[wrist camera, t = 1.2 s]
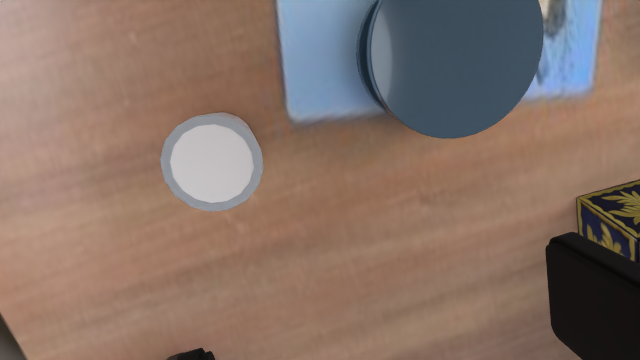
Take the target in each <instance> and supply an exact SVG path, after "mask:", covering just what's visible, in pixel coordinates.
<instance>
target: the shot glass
mask: <svg viewBox="0 0 640 360" xmlns="http://www.w3.org/2000/svg"><path fill="white" fill-rule="evenodd" d="M160 162H161V167H162V172H163V177H164V180H165V182H166V183H167V185H168V186H169V188H170V189H171V191H172V192H173V194H174V195H175V196H176V197H178V198H179V199H180V200H182V201H183V202H185V203H186V204H188V205H189V206H191V207H194V208H198V209H202V210H206V211H210V212H212V211H220V210H228V209H231V208H233V207H235V206H237V205H239V204H241V203H243V202H245V201H246V200H247V199H248V198H249V197H250V196H251V194H252V193H253V192H254V191H255V190H256V188H257V187H258V185H259V182H260V179H261V175H262V172H263V161H262V153H261V149H260V147H259V145H258V143H257V140H256V138H255V136H254V135H253V133H252V131H251V129H250V128H249V126H248V124H247V123H245V122H244V121H243V120H242V119H240V118H239V117H238V116H235V115H232V114H229V113H225V112H220V113H210V114H205V115H199V116H194V117H192V118H191V119H189V120H187V121H185V122H183V123H181V124H179V125H177V126H176V127H175V129H174V130H173V131H172V133H171V134H170V135H169V136H168V138H167V139H166V140H165V142H164V146H163V150H162V155H161V159H160Z"/></svg>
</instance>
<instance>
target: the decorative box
mask: <svg viewBox="0 0 640 360" xmlns="http://www.w3.org/2000/svg"><path fill="white" fill-rule="evenodd" d="M577 210H578V228H579V234H580V235H582V236H584V237H586V238H588V239H590V240H592V241H594V242H596V243H598V244H600V245H602V246H604V247H606V248H608V249H610V250H612V251H614V252H616V253H618V254H620V255H622V256H625V257H627V258H629V259H631V260H633V261H635V262H637V263H639V264H640V180H637V181H633V182H630V183H626V184H623V185H619V186H616V187H612V188H609V189H605V190H602V191H598V192H595V193H591V194H588V195H584V196H580V197H577Z"/></svg>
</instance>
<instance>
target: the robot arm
mask: <svg viewBox="0 0 640 360" xmlns="http://www.w3.org/2000/svg"><path fill="white" fill-rule="evenodd" d="M546 263H547V277H548V290H549V303H550V316H551V326H552V329H553V331H554V333H555V335H556V336H557V337H558V338H559V340H561V341H562V342H563V343H564V344H565V345H566V346H568V347H569V348H570V349H571V350H572V351H573V352H574V353H576V354H577V355H578V356H579V357H580V358H581V359H582V360H640V264H639V263H637V262H635V261H633V260H631V259H629V258H627V257H625V256H622V255H620V254H618V253H616V252H614V251H612V250H610V249H608V248H606V247H604V246H602V245H600V244H598V243H596V242H594V241H592V240H590V239H588V238H586V237H584V236H582V235H580V234H578V233H575V232H569V233H566V234H563V235H560V236H557V237H553V238H552V239H550V242H549V245H547V246H546ZM177 360H215V358H214V355H213V353H212V352H211V351H209V352H206V353H205V351H204V350H203V348H198V349H195V350H192V351H189V352H186V353H182V354H180V355H178V357H177Z"/></svg>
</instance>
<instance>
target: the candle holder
mask: <svg viewBox="0 0 640 360" xmlns="http://www.w3.org/2000/svg"><path fill="white" fill-rule="evenodd" d="M180 354H182V353H180ZM180 354H177V355H174V356H172V357H169V358H168V359H167V360H177V357H178V355H180Z"/></svg>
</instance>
